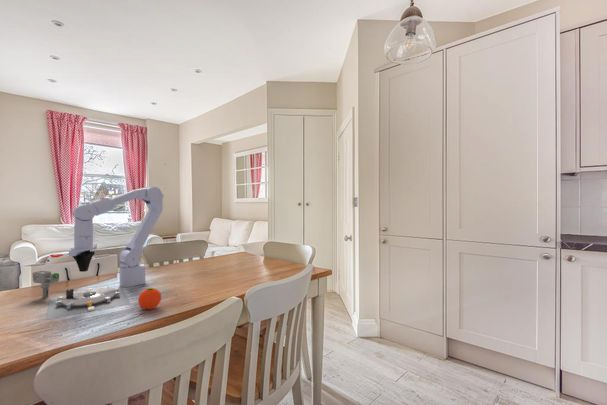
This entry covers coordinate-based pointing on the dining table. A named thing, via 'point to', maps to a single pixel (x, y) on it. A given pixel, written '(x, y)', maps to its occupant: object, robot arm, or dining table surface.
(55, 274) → the mechanical component
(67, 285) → the dining table surface
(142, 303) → the clementine
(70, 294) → the sprocket
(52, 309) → the index board
